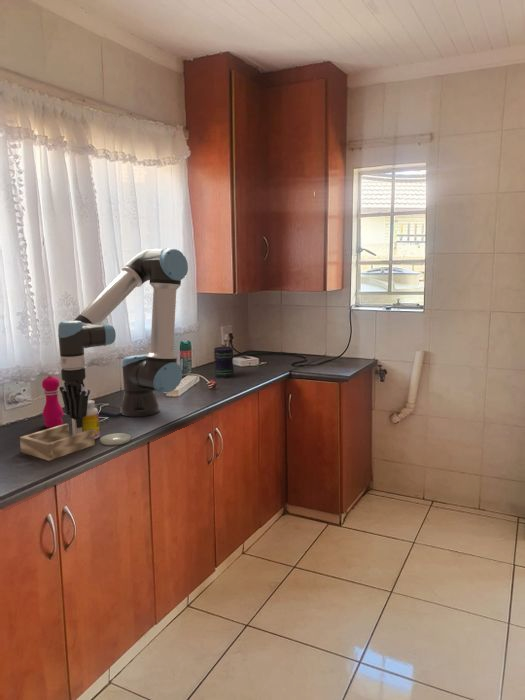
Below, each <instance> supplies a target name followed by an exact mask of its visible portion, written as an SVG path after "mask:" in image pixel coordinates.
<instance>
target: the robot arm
mask: <svg viewBox="0 0 525 700" xmlns="http://www.w3.org/2000/svg"><path fill="white" fill-rule="evenodd" d="M188 269H189V264H188V260H187V258H186V256H185V255H184V254H183V252H182V251H180V250H179V249H175V248H171V247H170V248H169V247H168V248H150V249H149V248H148V249H145V250H143V251H141V252H139V253H137V254H136V255H134V257H132V258H131V259H130V260H129V261H127V262H126V264H125V265H124V266H123V267H122V268H121V269H120V270H121V273H120V274H119V275H117V277H115V278H114V279H113V280H112V282H110V283H109V284H108V285H107V286H106V288H105V289H104V290H102V292H101V293H99V294H98V295H97V296H96V298H95V299H94V300H93V301H91V303H90V304H88V305H87V306H86V307H85V309H83V311H81V312H80V314H79V315H78V316H77V317H75V318H74V320H63V321H60V322H59V323H58V331H57V332H58V335H57V336H58V344H59V345H58V346H59V356H60V367H61V368H62V369H61V370H60V373H61V380H62V381H63V386H59V387H58V388H59V389H58V390H59V392H60V393H61V396H62V403H63V405H64V411H65V415H66V416H69V418H70V422H71V427H72V428H71V429H72V435H75V434H78V433H81V432H82V417H85V416H86V414H87V404H88V400H89V397H90V396H89V395H90V393H91V390H90V389H87V388H86V387H85V383H84V380H85V379H86V377H87V376H86V368H85V366H86V361H85V359H86V358H85V349H89V348H96V347H105V346H108V345H113V344H114V343H115V340H116V337H117V336H116V335H117V334H116V332H117V331H116V330H115V326H113V325H112V324H111V323H103V322H104V320H106V319H107V318H108V316H110V315H111V314H112V312H113V311H114V310H116V308H117V307H118V306H120V304H121V303H122V302H123V301H124V300H125V299H126V298H127V297H128V296H129V295H130V294H131V293H132V292H133V291H134V289H136V288H139V287H141V286H142V285H143V284H145V283H146V282H148V281H149V285H150V286H151V287H152V290H153V293H152V312H151V330H150V331H151V332H150V333H151V334H150V351H149V353H144V354H136V355H130V356H125V357H124V358H123V359H122V365H121V369H122V379H123V380H122V381H123V398H122V403H121V405H120V408H119V409H120V414H121V413H122V414H121V415H123V416H125V417H132V418H133V417H137V418H138V417H145V416H146V417H147V416H152V415H155V414H157V413H158V412H159V411H160V406H159V405H160V404H159V403H158V401H157V400H158V399H157V397H156V395H155V391H156V392H158V393H172V392H174V391H175V390H176V389H177V387H179V386H180V385H181V381H182V378H183V370H182V368H181V366H180V365H179V364H178V357H177V356H176V354H175V353H174V345H175V344H174V343H175V342H174V341H175V321H176V307H177V305H176V304H177V290H178V289H179V288H180V287H181V285H182V280H183V279H184V278H185V276H187V274H188Z"/></svg>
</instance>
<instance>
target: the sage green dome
mask: <svg viewBox="0 0 525 700" xmlns="http://www.w3.org/2000/svg"><path fill="white" fill-rule="evenodd" d="M131 440H132V437H131V435H130V434H128V433H123V432H120V433H119V432H117V433H115V432H114V433H108V434H105V435H103V436H101V437H100V439H99V441H100V442H99V443H100V444H101V445H102V446H103V445H104V446H120V445H125V444H127V443H129V442H131Z"/></svg>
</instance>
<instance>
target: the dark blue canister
mask: <svg viewBox="0 0 525 700" xmlns="http://www.w3.org/2000/svg"><path fill="white" fill-rule="evenodd" d="M213 350H214V352H213V355H214V356H213V357H214V374H215V375H214V378H215V379H223V380H224V379H233V378H234V362H233V361H234V360H233V359H234V351H233V350H234V348H233V347H232V346H219V347H214V349H213Z"/></svg>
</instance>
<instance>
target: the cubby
mask: <svg viewBox="0 0 525 700" xmlns="http://www.w3.org/2000/svg"><path fill="white" fill-rule="evenodd" d="M95 441H96V439H94V430H88V431H84V432H81V433H78V434H75V435H73V434H72V435H71V434H70V424H69V423H63V424H62V425H59V426H56V427H52V428H46V429H42V430H39V431H35V432H32V433H29V434H26V435H25V434H24V435H23V436H19V443H20V444H19V445H20V453H23V454H26V455H28V456H29V455H30V456H33V457H35V458H39V459H43V460H45V461H49V462H50V461H52V460H55V459H58V458H61V457H64V456H67V455H69V454H72V453H74V452H75V453H76V452H79V451H81V450H84V449H87V448H89V447H93V446H95V445H96V442H95Z"/></svg>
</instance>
